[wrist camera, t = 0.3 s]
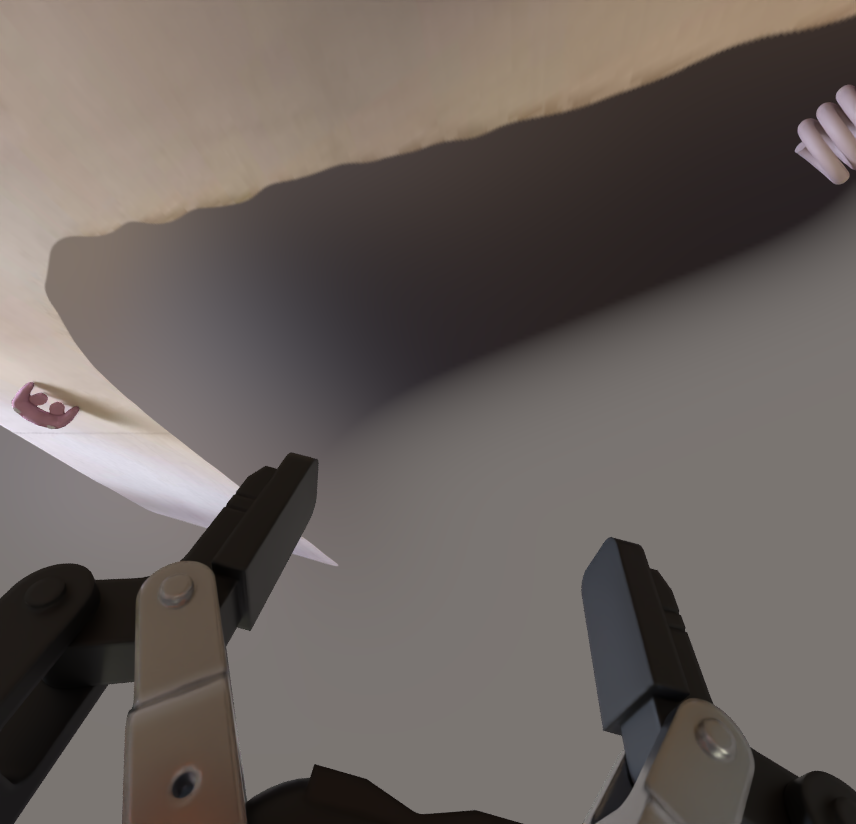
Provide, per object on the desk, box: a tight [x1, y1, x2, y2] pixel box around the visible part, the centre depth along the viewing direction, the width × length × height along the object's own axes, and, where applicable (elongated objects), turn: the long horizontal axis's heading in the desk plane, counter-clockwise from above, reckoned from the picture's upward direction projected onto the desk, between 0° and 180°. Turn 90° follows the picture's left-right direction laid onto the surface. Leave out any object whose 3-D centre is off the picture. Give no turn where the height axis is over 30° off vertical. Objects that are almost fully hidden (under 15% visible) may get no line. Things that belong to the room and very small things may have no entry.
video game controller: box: [12, 382, 79, 429], centre depth 85 cm, size 10×5×7 cm, turn 40°
